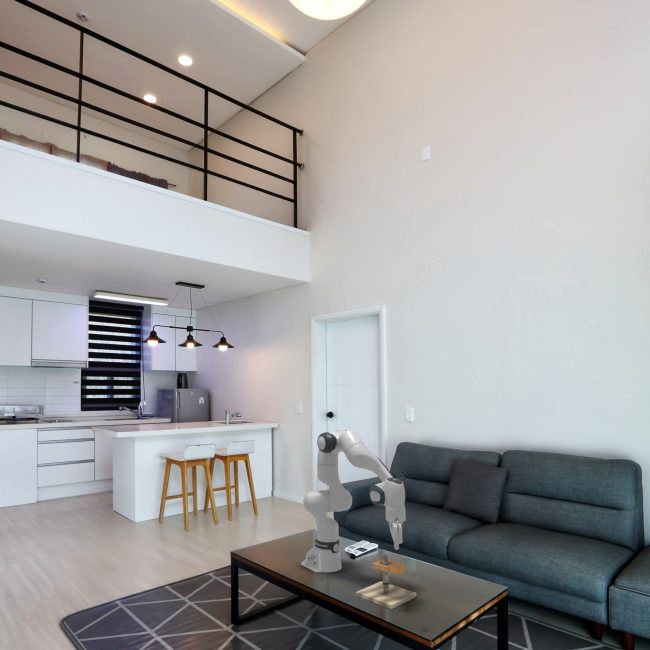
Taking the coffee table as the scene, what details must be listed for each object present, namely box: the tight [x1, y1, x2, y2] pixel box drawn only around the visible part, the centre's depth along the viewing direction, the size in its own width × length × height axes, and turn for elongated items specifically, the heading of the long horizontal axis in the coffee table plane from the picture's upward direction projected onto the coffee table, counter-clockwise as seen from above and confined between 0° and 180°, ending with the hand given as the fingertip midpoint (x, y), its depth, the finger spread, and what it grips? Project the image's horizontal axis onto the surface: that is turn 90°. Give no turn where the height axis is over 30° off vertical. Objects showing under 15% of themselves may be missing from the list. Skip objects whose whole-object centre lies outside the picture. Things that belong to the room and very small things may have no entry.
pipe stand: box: [355, 554, 417, 610], centre depth 224 cm, size 20×18×17 cm
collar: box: [372, 558, 406, 575], centre depth 223 cm, size 12×8×2 cm, turn 45°
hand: (396, 548), depth 221 cm, fingers closed
